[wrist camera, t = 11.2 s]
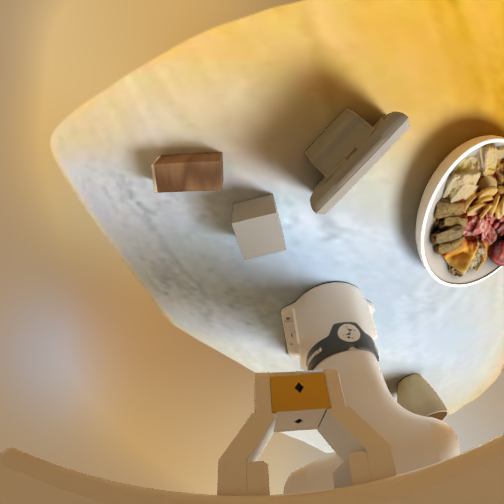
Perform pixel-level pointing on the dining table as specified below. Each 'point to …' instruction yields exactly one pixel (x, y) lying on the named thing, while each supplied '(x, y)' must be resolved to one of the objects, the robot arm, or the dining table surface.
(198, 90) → the dining table surface
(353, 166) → the digital clock
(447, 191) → the bowl
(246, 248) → the grey cube
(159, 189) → the walnut post
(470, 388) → the dining table surface
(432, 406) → the plant pot
